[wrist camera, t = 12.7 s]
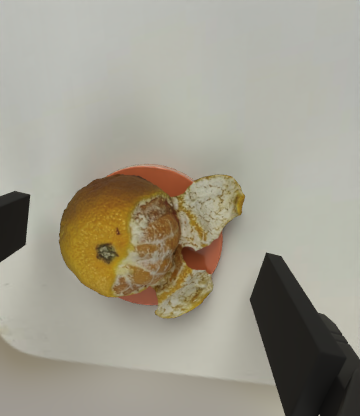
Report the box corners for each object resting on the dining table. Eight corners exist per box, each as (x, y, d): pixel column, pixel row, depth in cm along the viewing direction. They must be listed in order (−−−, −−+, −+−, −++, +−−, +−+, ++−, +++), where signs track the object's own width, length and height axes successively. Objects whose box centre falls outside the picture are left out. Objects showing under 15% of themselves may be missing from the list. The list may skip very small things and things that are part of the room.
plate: (71, 279, 17) (65, 286, 17) (91, 147, 15) (85, 148, 15) (201, 311, 18) (201, 319, 17) (239, 184, 15) (241, 187, 15)
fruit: (200, 317, 17) (201, 368, 13) (60, 277, 17) (23, 318, 13) (250, 181, 14) (268, 198, 11) (89, 132, 14) (54, 134, 11)
